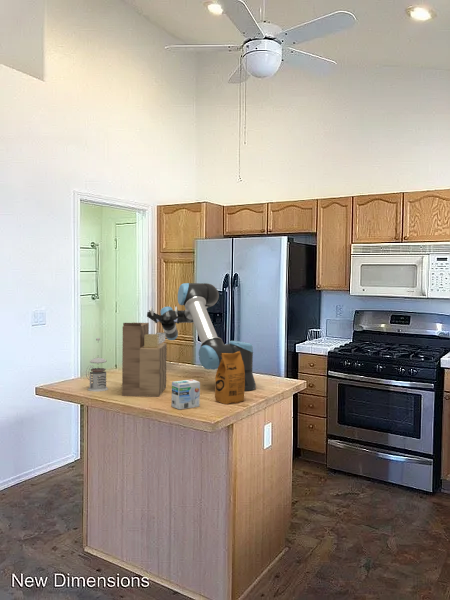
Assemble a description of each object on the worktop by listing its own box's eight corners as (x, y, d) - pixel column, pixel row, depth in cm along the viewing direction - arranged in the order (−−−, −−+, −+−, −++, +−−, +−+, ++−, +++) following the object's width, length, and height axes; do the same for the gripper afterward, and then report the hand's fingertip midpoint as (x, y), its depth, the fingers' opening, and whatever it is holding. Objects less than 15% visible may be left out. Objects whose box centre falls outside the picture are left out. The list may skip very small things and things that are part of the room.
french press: (112, 388, 253) (112, 337, 252) (94, 393, 243) (94, 340, 242) (98, 386, 258) (98, 336, 257) (80, 390, 249) (80, 338, 247)
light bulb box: (178, 410, 215) (179, 384, 215) (170, 406, 221) (171, 381, 220) (200, 406, 222) (200, 381, 221) (191, 403, 227) (192, 378, 227)
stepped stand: (132, 386, 258) (132, 319, 257) (166, 387, 258) (166, 320, 256) (122, 395, 239) (122, 323, 237) (158, 396, 238) (159, 324, 236)
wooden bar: (155, 340, 268) (155, 328, 268) (167, 340, 268) (167, 328, 267) (144, 347, 240) (144, 334, 240) (157, 348, 240) (157, 335, 239)
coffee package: (211, 400, 232) (212, 351, 231) (234, 397, 239) (234, 349, 238) (224, 405, 224) (225, 354, 223) (247, 401, 231) (248, 352, 230)
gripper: (189, 331, 295) (185, 315, 276) (146, 330, 297) (139, 314, 278) (190, 319, 299) (186, 302, 280) (147, 318, 300) (141, 301, 281)
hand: (163, 308), depth 279 cm, fingers open, 13 cm apart
